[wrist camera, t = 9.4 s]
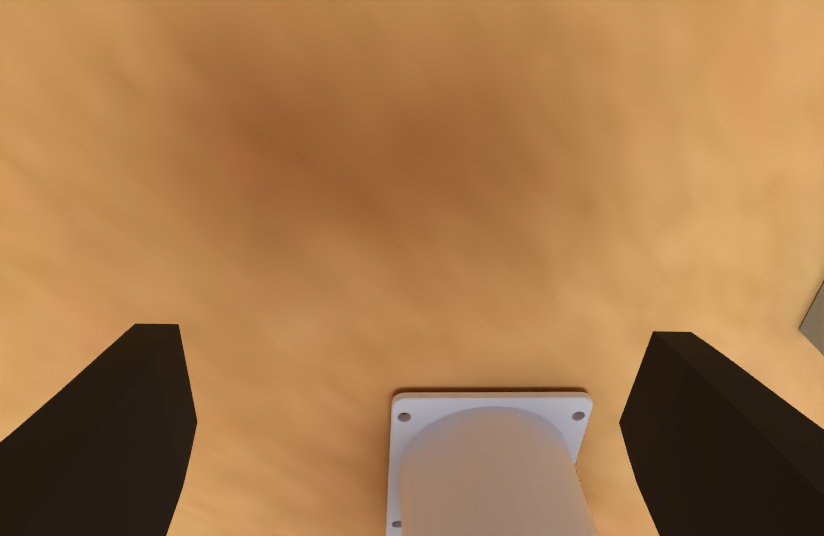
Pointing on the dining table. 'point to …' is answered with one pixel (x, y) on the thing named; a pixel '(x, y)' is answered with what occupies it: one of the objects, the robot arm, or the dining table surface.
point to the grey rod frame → (815, 322)
